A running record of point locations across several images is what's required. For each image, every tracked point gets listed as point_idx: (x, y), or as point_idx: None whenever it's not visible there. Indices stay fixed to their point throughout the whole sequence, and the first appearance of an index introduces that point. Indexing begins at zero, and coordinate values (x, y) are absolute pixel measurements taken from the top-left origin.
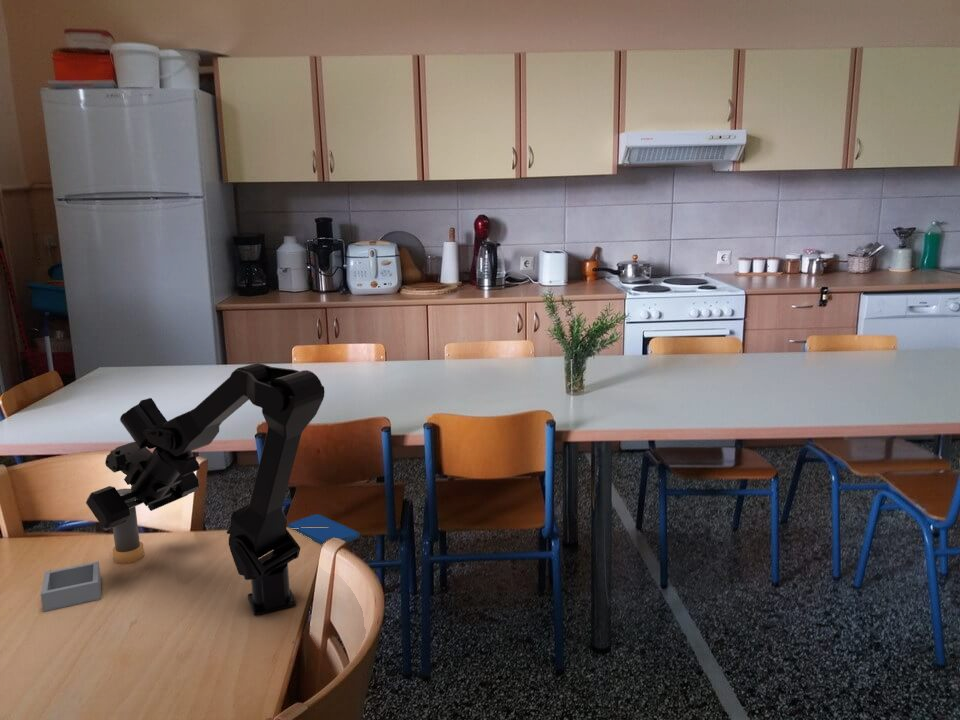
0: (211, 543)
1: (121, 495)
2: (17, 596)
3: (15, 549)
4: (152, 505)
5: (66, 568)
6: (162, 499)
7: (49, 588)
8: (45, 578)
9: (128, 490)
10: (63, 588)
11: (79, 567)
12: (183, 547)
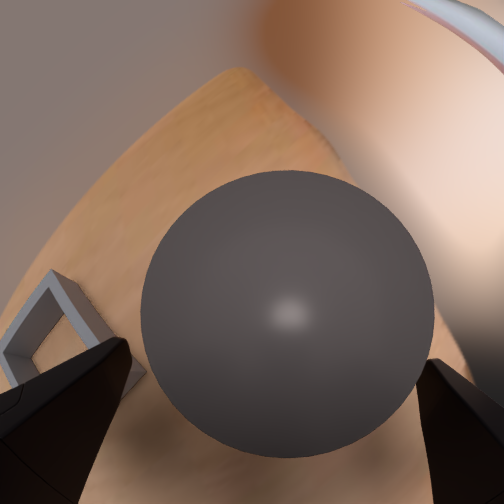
0: (426, 481)
1: (216, 393)
2: (51, 253)
3: (209, 89)
4: (432, 406)
5: (69, 308)
6: (454, 492)
7: (33, 326)
8: (30, 300)
9: (392, 322)
10: (13, 384)
11: (82, 340)
12: (388, 444)
